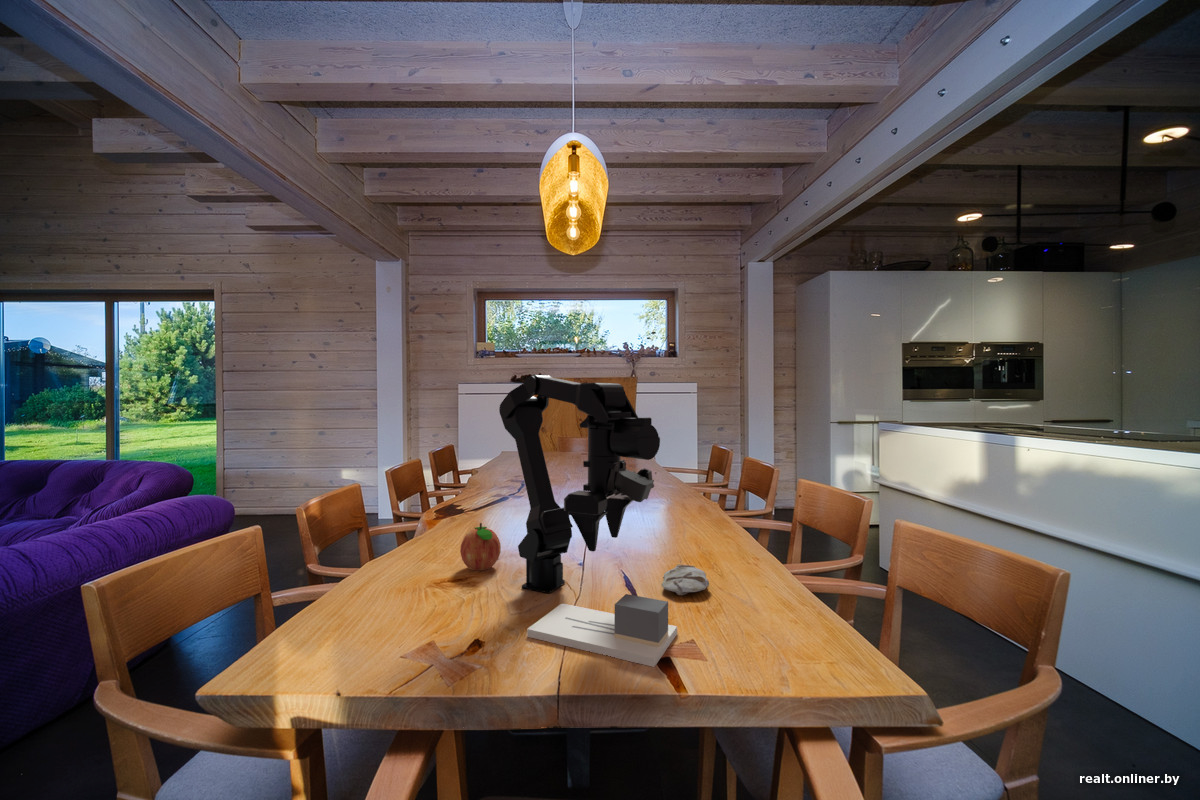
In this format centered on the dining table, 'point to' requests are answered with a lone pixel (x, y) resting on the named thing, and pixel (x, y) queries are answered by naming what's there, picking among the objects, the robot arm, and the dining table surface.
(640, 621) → the block
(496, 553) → the fruit
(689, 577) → the stone
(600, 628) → the board
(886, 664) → the dining table surface
